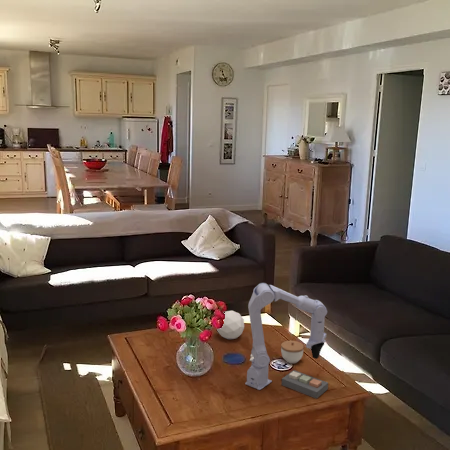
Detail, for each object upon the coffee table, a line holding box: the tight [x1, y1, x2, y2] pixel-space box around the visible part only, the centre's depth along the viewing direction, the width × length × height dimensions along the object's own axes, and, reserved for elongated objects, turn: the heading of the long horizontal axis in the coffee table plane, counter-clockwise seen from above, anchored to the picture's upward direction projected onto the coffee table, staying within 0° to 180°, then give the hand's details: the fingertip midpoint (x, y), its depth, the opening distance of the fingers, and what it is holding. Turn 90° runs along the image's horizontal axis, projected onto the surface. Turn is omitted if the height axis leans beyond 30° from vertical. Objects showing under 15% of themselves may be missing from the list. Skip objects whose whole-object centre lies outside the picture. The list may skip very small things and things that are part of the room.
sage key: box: [299, 375, 312, 384], centre depth 218 cm, size 4×4×3 cm
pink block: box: [309, 379, 323, 388], centre depth 215 cm, size 4×4×3 cm
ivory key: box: [288, 370, 301, 380], centre depth 221 cm, size 4×4×3 cm
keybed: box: [281, 369, 329, 399], centre depth 219 cm, size 10×17×3 cm, turn 52°
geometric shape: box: [216, 310, 245, 340], centre depth 265 cm, size 14×15×15 cm
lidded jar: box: [280, 340, 305, 364], centre depth 242 cm, size 11×11×9 cm
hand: (315, 357), depth 223 cm, fingers closed
